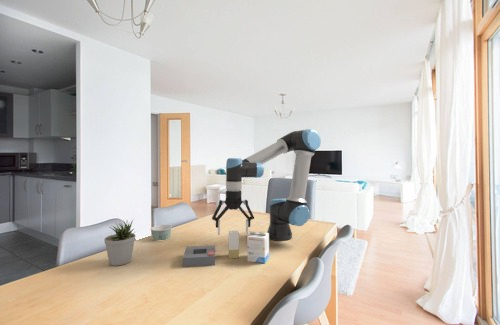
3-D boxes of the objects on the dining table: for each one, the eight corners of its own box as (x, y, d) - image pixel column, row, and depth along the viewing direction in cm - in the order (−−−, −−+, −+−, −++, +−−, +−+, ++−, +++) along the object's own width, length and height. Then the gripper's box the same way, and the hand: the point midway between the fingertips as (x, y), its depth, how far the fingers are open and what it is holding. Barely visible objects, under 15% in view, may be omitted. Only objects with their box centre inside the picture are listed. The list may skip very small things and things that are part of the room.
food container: (155, 243, 139) (155, 231, 139) (147, 238, 148) (147, 227, 148) (175, 238, 147) (175, 227, 147) (167, 234, 156) (167, 223, 156)
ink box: (269, 256, 120) (269, 229, 120) (264, 263, 112) (264, 234, 112) (252, 254, 123) (252, 227, 123) (246, 261, 115) (246, 232, 115)
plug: (237, 254, 123) (237, 230, 123) (238, 257, 119) (238, 232, 119) (228, 254, 123) (228, 230, 122) (229, 258, 118) (229, 233, 118)
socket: (214, 253, 124) (214, 244, 124) (215, 265, 110) (215, 254, 110) (186, 254, 122) (186, 245, 122) (182, 267, 108) (182, 256, 108)
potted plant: (103, 271, 104) (103, 224, 104) (105, 259, 116) (105, 217, 116) (136, 265, 110) (136, 220, 110) (134, 254, 122) (134, 214, 122)
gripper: (257, 189, 126) (257, 231, 126) (207, 189, 122) (207, 232, 122) (260, 191, 118) (259, 235, 118) (207, 191, 115) (206, 237, 115)
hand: (233, 234), depth 120 cm, fingers open, 13 cm apart
